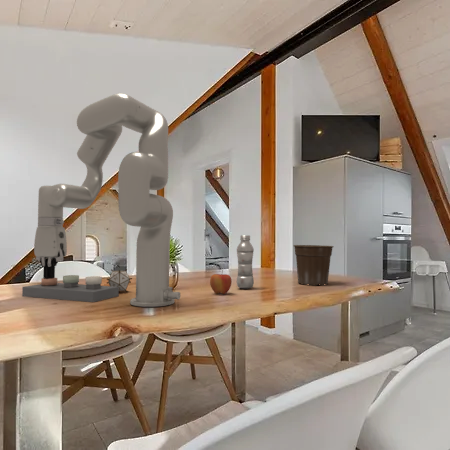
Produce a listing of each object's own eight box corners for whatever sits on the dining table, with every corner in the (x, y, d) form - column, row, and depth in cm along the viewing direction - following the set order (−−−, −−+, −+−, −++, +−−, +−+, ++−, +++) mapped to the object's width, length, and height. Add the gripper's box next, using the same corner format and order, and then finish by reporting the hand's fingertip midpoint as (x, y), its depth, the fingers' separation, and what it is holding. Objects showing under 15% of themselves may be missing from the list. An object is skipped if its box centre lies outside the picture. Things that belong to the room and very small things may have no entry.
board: (118, 296, 120) (118, 286, 120) (93, 302, 108) (93, 291, 108) (51, 291, 129) (52, 282, 129) (22, 296, 118) (22, 286, 118)
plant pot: (336, 282, 158) (336, 245, 158) (330, 287, 143) (330, 246, 144) (298, 280, 164) (298, 244, 165) (289, 285, 150) (289, 245, 150)
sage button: (82, 289, 120) (82, 275, 120) (71, 291, 116) (71, 277, 116) (70, 288, 122) (70, 274, 122) (59, 290, 117) (59, 276, 118)
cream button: (104, 291, 117) (105, 276, 117) (94, 293, 113) (94, 278, 113) (92, 290, 119) (92, 276, 119) (81, 292, 114) (82, 277, 114)
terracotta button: (60, 291, 123) (60, 278, 124) (49, 293, 119) (49, 279, 119) (49, 290, 125) (49, 277, 125) (37, 292, 121) (38, 278, 121)
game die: (121, 303, 126) (122, 282, 121) (100, 294, 128) (100, 272, 122) (135, 288, 134) (137, 267, 128) (115, 279, 135) (116, 258, 130)
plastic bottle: (256, 288, 139) (257, 235, 140) (248, 290, 133) (248, 235, 134) (242, 287, 143) (242, 235, 143) (233, 289, 137) (233, 235, 138)
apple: (207, 295, 123) (207, 271, 123) (213, 292, 130) (213, 269, 130) (228, 296, 121) (228, 271, 121) (233, 293, 128) (233, 269, 128)
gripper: (76, 223, 124) (75, 278, 123) (42, 223, 129) (41, 276, 128) (59, 222, 117) (57, 281, 116) (23, 222, 122) (22, 278, 121)
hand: (49, 278), depth 122 cm, fingers closed
